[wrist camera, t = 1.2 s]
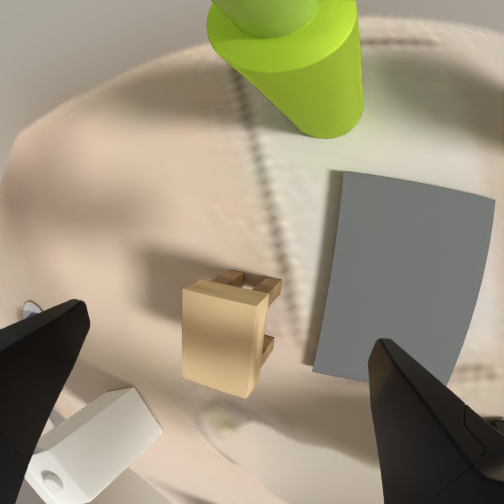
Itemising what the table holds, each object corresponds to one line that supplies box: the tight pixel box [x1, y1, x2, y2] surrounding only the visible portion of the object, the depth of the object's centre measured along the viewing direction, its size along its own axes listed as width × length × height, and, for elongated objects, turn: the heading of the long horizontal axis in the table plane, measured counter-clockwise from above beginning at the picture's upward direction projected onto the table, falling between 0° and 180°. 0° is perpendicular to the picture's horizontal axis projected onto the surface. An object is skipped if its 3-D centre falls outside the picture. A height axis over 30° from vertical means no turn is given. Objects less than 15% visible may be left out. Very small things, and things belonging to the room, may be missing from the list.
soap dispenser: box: [207, 0, 363, 139], centre depth 12 cm, size 6×7×20 cm
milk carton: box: [24, 387, 163, 504], centre depth 26 cm, size 7×7×19 cm
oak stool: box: [182, 270, 282, 399], centre depth 22 cm, size 7×5×7 cm
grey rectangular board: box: [312, 172, 495, 386], centre depth 21 cm, size 16×12×1 cm
